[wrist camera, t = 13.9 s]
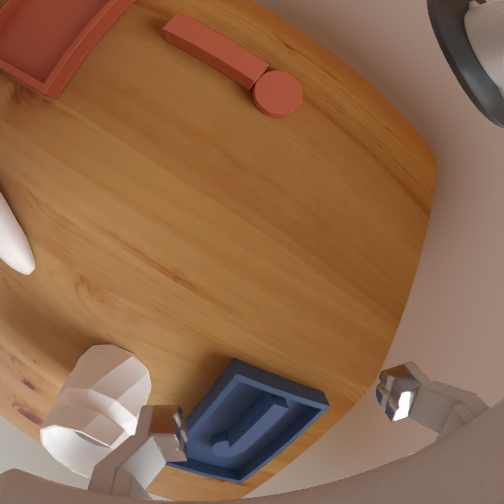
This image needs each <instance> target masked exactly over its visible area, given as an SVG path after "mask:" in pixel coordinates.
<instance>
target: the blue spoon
mask: <svg viewBox="0 0 504 504" xmlns="http://www.w3.org/2000/svg"><path fill="white" fill-rule="evenodd" d="M288 409H289V408H288V405H287V402H286V399H285V398H284V397H281V396H278V395H275V394H272V393H269V392H266V391H265V393H264V394H263V395H262V396H261V397H260V398H259V399H258V400H257V401H256V402H255V404H254V405H253V406H252V407H251V408H250V409H249V410H248V411H247V412H246V413H245V414H244V415H243V416H242V417H241V418H240V419H239V420H238V421H237V423H236V424H235V425H234V426H233V427H232V428H231V429H230V430H229V431H228V433H221V434H218V435H215V436H214V437H213V438H212V439H211V451H212V452H213V453H214V454H215V455H217V456H221V457H231V456H235V455H238V454H239V453H241V451H242V452H244V451H245V450H246V449H247V448H248V447H249V446H251V445H252V444H253V443H254V442H255V441H256V440H257V439H258V438H259V437H260V436H261V435H263V434H264V433H265V432H266V431H267V430H268V429H269V428H270V427H271V426H272V425H273V424H274V423H275V422H276V421H277V420H278V419H279V418H280V417H281V416H282V415H283V414H284V413H285V412H286V411H287V410H288Z"/></svg>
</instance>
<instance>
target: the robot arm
mask: <svg viewBox="0 0 504 504" xmlns="http://www.w3.org/2000/svg"><path fill="white" fill-rule="evenodd" d="M464 24H465V30H466V33H467V36H468V39H469V42H470V44H471V47H472V49H473V51H474V53H475V55H476V57H477V59H478V60H479V62H480V64H481V66H482V67H483V69H484V70H485V72H486V73H487V74H488V76H489V77H490V78H491V79H492V81H493V82H494V83H495V84H496V86H497V87H498V89H499V91H500V93H501V95H502V97H503V98H504V0H496V1H492V2H488V3H484V4H481V5H480V4H479V3H477V2H476V1H470V2H469V10H468V11H467V12H466V14H465V17H464ZM379 379H380V380H381V382H380V383H379V384H378V385H377V389H376V396H377V399H378V402H379V403H380V405H381V406H383V407H386V410H385V413H386V414H387V415H388V417H389V419H390V420H391V422H394V421H396V420H399V419H402V418H405V417H407V416H408V417H409V418H411V419H413V420H415V421H417V422H419V423H420V424H422V425H424V426H426V427H428V428H430V429H432V430H434V431H436V432H438V433H439V435H438V437H437V439H436V440H435V442H434V443H432V444H430V445H428V446H426V447H424V448H422V449H420V450H417V451H416V452H413V453H411V454H409V455H407V456H404V457H402V458H400V459H398V460H395V461H393V462H390V463H388V464H385V465H383V466H380V467H377V468H375V469H372V470H369V471H366V472H364V473H360V474H357V475H355V476H351V477H348V478H345V479H342V480H338V481H335V482H331V483H328V484H324V485H320V486H315V487H311V488H307V489H302V490H298V491H293V492H288V493H282V494H276V495H270V496H262V497H255V498H246V499H235V500H220V501H163V500H153V499H152V498H151V497H150V496H149V495H148V493H147V492H146V491H145V489H146V488H147V487H148V485H149V484H150V483H151V482H152V480H153V479H154V478H155V477H156V475H157V474H158V473H159V472H160V470H161V469H162V468H163V467H164V465H165V464H166V462H180V461H187V452H188V448H187V446H186V442H187V441H188V427H187V423H186V420H185V418H183V417H182V412H183V411H182V409H181V406H179V405H172V406H162V405H155V406H148V405H143V406H142V407H141V410H140V414H139V418H138V422H137V427H136V431H135V435H130V436H129V437H128V438H127V439H126V440H125V441H124V442H122V443H121V444H120V445H119V446H118V447H117V448H115V449H114V450H113V451H112V452H111V453H110V454H108V455H107V456H106V457H105V458H104V459H102V460H101V461H100V462H99V463H98V464H96V465H95V466H94V469H93V472H92V476H91V480H90V483H89V487H88V490H84V489H80V488H76V487H72V486H68V485H64V484H61V483H57V482H54V481H50V480H47V479H44V478H41V477H38V476H35V475H32V474H29V473H27V472H24V471H21V470H19V469H10V470H8V471H6V472H4V473H2V474H0V504H504V398H503V399H502V400H501V401H500V402H498V403H497V404H495V405H494V406H493V407H491V408H489V407H488V406H487V405H486V404H485V403H484V402H483V401H482V400H481V399H480V398H479V397H478V396H477V395H476V394H475V393H472V392H469V391H466V390H462V389H459V388H456V387H453V386H450V385H446V384H443V383H440V382H437V381H431V380H430V379H429V378H428V377H427V376H426V375H425V374H424V373H423V372H422V371H421V370H420V369H419V368H418V367H417V365H416V364H415V363H413V362H412V361H410V362H407V363H404V364H402V365H399V366H396V367H393V368H390V369H387V370H384V371H382V372H381V373H380V376H379Z"/></svg>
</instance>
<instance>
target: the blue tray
mask: <svg viewBox="0 0 504 504" xmlns="http://www.w3.org/2000/svg"><path fill="white" fill-rule="evenodd" d="M265 391H266V392H269V393H272V394H275V395H278V396H281V397H284V398H285V399H286V402H287V405H288V408H289V409H288V410H287V411H286V412H285V413H284V414H283V415H282V416H281V417H280V418H279V419H278V420H277V421H276V422H275V423H274V424H273V425H272V426H271V427H270V428H269V429H268V430H267V431H266V432H265V433H264V434H263V435H261V436H260V437H259V438H258V439H257V440H256V441H255V442H254V443H253V444H252V445H251V446H249V447H248V448H247V449H246V450H245V451H244V452H242V451H241V453H239V454H238V455H235V456H231V457H221V456H217V455H215V454H214V453H213V452H212V451H211V439H212V438H213V437H214V436H215V435H218V434H221V433H228V431H229V430H230V429H231V428H232V427H233V426H234V425H235V424H236V423H237V421H238V420H239V419H240V418H241V417H242V416H243V415H244V414H245V413H246V412H247V411H248V410H249V409H250V408H251V407H252V406H253V405H254V404H255V402H256V401H257V400H258V399H259V398H260V397H261V396H262V395H263V394H264V393H265ZM329 407H330V405H329V403H328V401H327V399H326V397H325V395H324V393H323V392H320V391H317V390H314V389H311V388H308V387H306V386H303V385H300V384H297V383H295V382H292V381H289V380H287V379H284V378H281V377H279V376H276V375H274V374H271V373H269V372H266V371H264V370H261V369H259V368H256V367H254V366H252V365H249V364H247V363H245V362H242V361H240V360H238V359H235V358H234V359H233V361H232V362H231V363H230V365H229V366H228V367H227V368H226V370H225V371H224V372H223V374H222V375H221V376H220V378H219V379H218V380H217V381H216V383H215V384H214V385H213V387H212V388H211V389H210V390H209V392H208V393H207V394H206V395H205V397H204V398H203V399H202V401H201V402H200V403H199V404H198V406H197V407H196V408H195V409H194V411H193V412H192V413H191V414H190V415H189V417H188V418H187V419H186V423H187V427H188V441H187V442H186V446H187V448H188V452H187V461H180V462H166V465H169V466H172V467H175V468H178V469H182V470H185V471H189V472H192V473H196V474H200V475H204V476H208V477H212V478H217V479H221V480H226V481H231V482H236V483H242V482H244V481H245V480H246V479H248V478H249V477H250V476H252V475H253V474H254V473H256V472H257V471H258V470H260V469H261V468H262V467H264V466H265V465H266V464H267V463H269V462H270V461H271V460H272V459H273V458H275V457H276V456H277V455H278V454H280V453H281V452H282V451H283V450H284V449H285V448H287V447H288V446H289V445H290V444H291V443H292V442H293V441H295V440H296V439H297V438H298V437H299V436H300V435H301V434H302V433H303V432H305V431H306V430H307V429H308V428H309V427H310V426H311V425H312V424H313V423H314V422H315V421H316V420H317V419H318V418H319V417H320V416H321V415H322V414H323V413H324V412H325V411H326V410H327V409H328V408H329Z"/></svg>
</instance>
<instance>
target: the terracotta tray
mask: <svg viewBox="0 0 504 504" xmlns="http://www.w3.org/2000/svg"><path fill="white" fill-rule="evenodd" d="M135 1H136V0H7V2H6V3H5V4H4V5H3V7H2V8H1V9H0V68H1V69H3V70H4V71H6V72H8V73H9V74H11V75H13V76H14V77H16V78H18V79H19V80H21V81H23V82H24V83H26V84H28V85H29V86H31V87H32V88H34V89H36V90H37V91H39V92H41V93H42V94H44V95H47V96H49V97H52V98H54V99H58V97H59V96H60V94H61V93H62V91H63V89H64V88H65V86H66V85H67V83H68V82H69V80H70V79H71V77H72V76H73V75H74V73H75V72H76V70H77V69H78V67H79V66H80V65H81V63H82V62H83V61H84V59H85V58H86V57H87V55H88V54H89V53H90V51H91V50H92V49H93V48H94V46H95V45H96V44H97V43H98V41H99V40H100V39H101V38H102V37H103V36H104V34H105V33H106V32H107V31H108V30H109V29H110V27H111V26H112V25H113V24H114V23H115V22H116V21H117V20H118V19H119V18H120V16H121V15H122V14H123V13H124V12H125V11H126V10H127V9H128V8H129V7H130V6H131V5H132V4H133V3H134V2H135Z"/></svg>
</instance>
